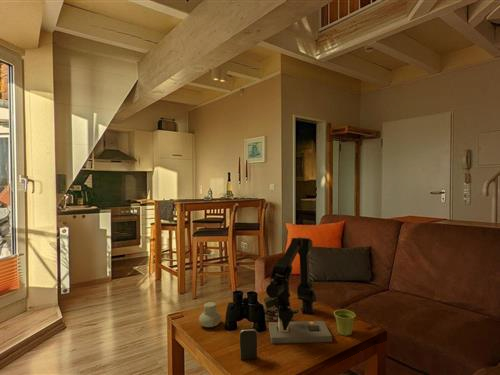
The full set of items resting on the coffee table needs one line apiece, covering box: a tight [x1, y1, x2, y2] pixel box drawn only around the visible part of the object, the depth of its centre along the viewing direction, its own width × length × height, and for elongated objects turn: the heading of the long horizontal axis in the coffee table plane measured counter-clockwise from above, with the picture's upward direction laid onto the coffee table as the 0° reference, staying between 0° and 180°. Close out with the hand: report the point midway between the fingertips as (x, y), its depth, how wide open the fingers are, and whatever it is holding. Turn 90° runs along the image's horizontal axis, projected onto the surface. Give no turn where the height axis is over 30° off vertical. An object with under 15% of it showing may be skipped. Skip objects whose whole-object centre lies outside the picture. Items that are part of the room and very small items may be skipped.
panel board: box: [268, 320, 333, 344], centre depth 137 cm, size 14×26×3 cm, turn 91°
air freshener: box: [198, 301, 223, 328], centre depth 147 cm, size 11×8×10 cm
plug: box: [277, 317, 288, 333], centre depth 137 cm, size 4×4×8 cm
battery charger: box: [239, 327, 258, 361], centre depth 120 cm, size 7×4×11 cm, turn 94°
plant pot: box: [333, 309, 356, 337], centre depth 138 cm, size 9×9×9 cm
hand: (283, 324), depth 137 cm, fingers open, 9 cm apart
